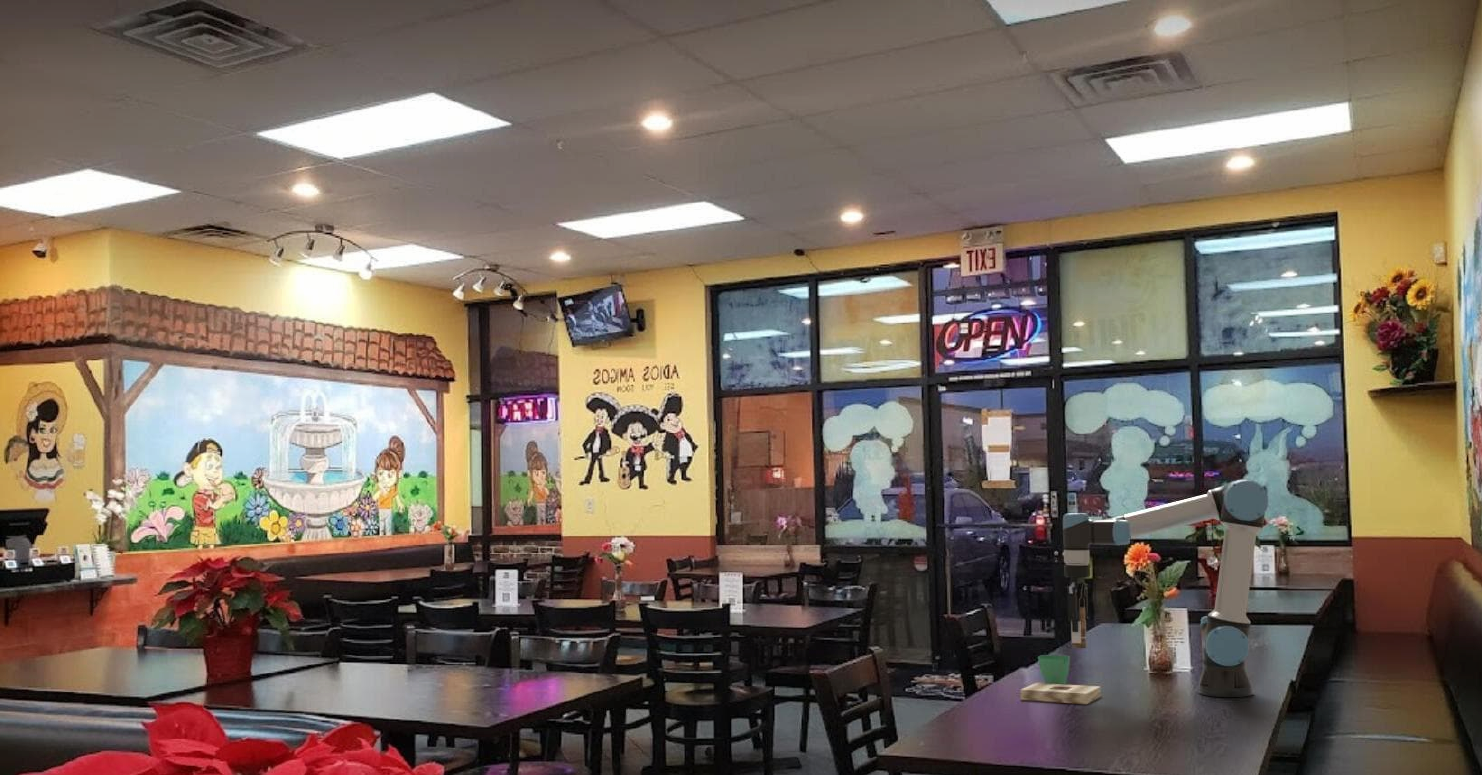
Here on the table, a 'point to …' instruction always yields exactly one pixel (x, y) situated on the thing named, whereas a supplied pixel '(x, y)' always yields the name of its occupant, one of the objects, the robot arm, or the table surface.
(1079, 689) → the board
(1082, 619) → the peg
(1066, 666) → the mug
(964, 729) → the table surface
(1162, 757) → the table surface
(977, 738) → the table surface
